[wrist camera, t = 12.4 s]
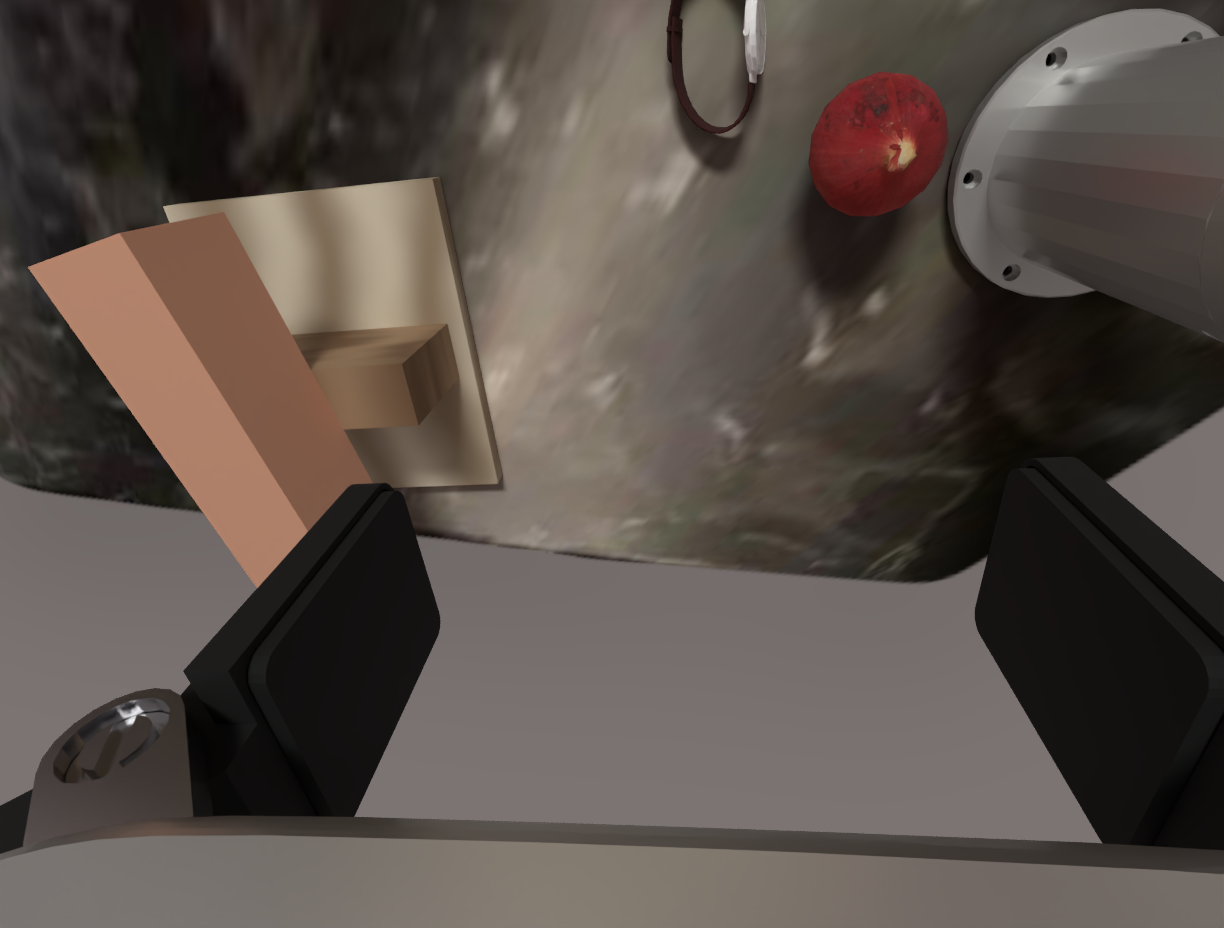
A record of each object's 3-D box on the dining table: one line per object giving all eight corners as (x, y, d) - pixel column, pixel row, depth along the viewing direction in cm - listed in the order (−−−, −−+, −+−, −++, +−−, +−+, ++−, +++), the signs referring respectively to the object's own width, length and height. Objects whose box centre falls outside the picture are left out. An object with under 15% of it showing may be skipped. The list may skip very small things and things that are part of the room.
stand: (440, 176, 34) (376, 192, 27) (502, 475, 43) (467, 545, 36) (178, 204, 36) (54, 224, 29) (290, 483, 45) (217, 551, 38)
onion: (784, 107, 31) (816, 103, 24) (905, 56, 29) (975, 36, 22) (810, 222, 33) (845, 249, 26) (922, 181, 32) (991, 198, 25)
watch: (764, 126, 32) (774, 127, 28) (672, 138, 32) (672, 140, 29) (765, -66, 28) (776, -90, 25) (661, -49, 29) (659, -70, 25)
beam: (224, 211, 28) (119, 233, 23) (399, 530, 36) (351, 601, 31) (145, 240, 29) (27, 266, 24) (333, 544, 37) (276, 614, 32)
